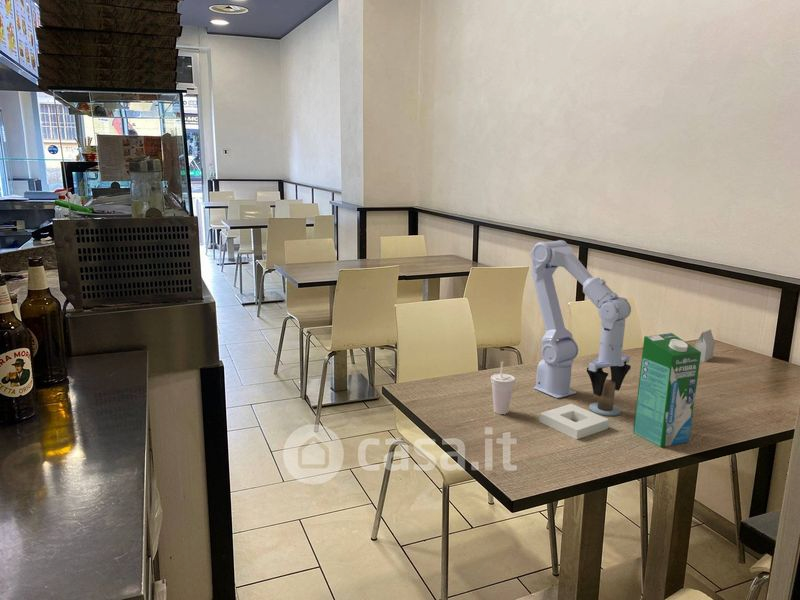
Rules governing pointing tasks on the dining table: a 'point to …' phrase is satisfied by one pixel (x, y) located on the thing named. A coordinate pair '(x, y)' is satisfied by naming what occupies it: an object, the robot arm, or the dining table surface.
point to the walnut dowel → (607, 396)
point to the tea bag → (705, 345)
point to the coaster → (605, 413)
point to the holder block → (563, 423)
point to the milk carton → (666, 390)
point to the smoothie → (502, 391)
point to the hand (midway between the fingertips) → (606, 392)
